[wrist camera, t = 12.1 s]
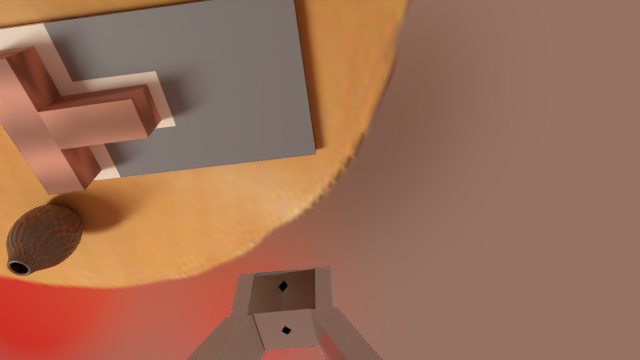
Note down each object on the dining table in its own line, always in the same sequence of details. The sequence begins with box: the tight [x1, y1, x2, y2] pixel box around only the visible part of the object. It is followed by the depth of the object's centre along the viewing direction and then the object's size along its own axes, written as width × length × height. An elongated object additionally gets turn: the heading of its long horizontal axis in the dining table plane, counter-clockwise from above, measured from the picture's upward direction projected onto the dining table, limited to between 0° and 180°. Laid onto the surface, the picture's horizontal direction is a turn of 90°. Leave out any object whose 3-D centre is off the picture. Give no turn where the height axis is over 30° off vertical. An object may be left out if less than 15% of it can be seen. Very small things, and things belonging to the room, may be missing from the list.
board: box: [0, 0, 316, 180], centre depth 39 cm, size 17×32×1 cm, turn 97°
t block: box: [0, 46, 161, 195], centre depth 37 cm, size 14×13×4 cm
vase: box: [6, 205, 83, 276], centre depth 44 cm, size 7×7×9 cm
